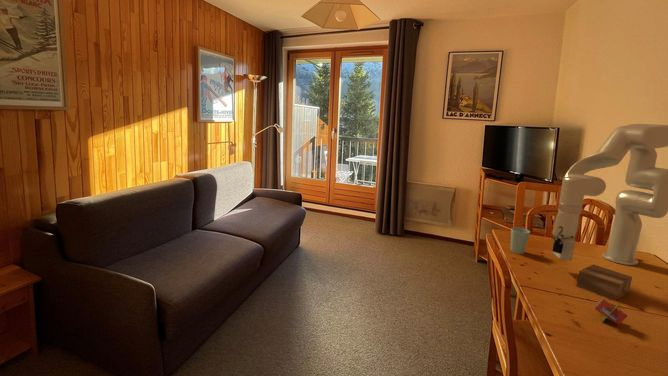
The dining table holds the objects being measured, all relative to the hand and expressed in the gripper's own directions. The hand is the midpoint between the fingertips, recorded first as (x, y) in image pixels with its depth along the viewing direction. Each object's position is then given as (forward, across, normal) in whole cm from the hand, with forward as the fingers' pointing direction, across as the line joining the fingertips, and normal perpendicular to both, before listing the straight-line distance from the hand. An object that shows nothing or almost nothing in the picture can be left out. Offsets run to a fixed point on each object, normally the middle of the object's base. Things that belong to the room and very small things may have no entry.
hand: (562, 250), depth 140 cm
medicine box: (+3, 0, 0) cm, 3 cm away
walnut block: (+9, +3, +16) cm, 18 cm away
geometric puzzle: (+9, +27, +26) cm, 38 cm away
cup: (+9, -5, -20) cm, 23 cm away
